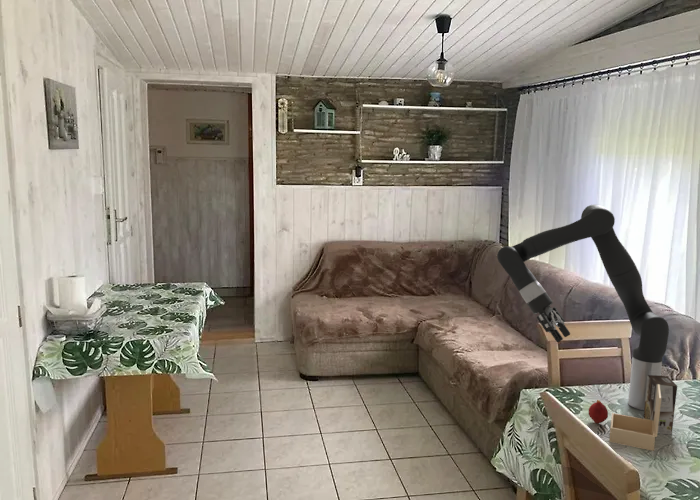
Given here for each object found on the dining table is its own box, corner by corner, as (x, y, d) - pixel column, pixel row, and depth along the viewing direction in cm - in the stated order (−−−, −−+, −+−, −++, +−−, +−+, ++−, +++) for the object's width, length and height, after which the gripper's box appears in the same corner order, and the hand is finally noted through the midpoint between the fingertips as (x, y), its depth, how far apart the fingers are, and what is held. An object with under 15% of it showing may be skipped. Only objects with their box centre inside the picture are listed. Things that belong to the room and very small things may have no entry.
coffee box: (672, 435, 181) (678, 386, 179) (650, 432, 182) (655, 384, 180) (663, 422, 190) (668, 375, 187) (642, 420, 191) (646, 373, 189)
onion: (606, 421, 190) (608, 398, 189) (607, 428, 185) (609, 404, 183) (587, 418, 192) (589, 395, 191) (588, 425, 186) (590, 402, 185)
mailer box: (610, 426, 187) (615, 377, 184) (654, 434, 181) (659, 384, 179) (609, 441, 176) (614, 390, 173) (655, 451, 170) (661, 398, 168)
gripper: (537, 294, 189) (567, 337, 184) (551, 288, 200) (579, 328, 196) (519, 306, 193) (548, 348, 188) (533, 299, 204) (561, 339, 200)
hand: (564, 338), depth 192 cm, fingers open, 8 cm apart
